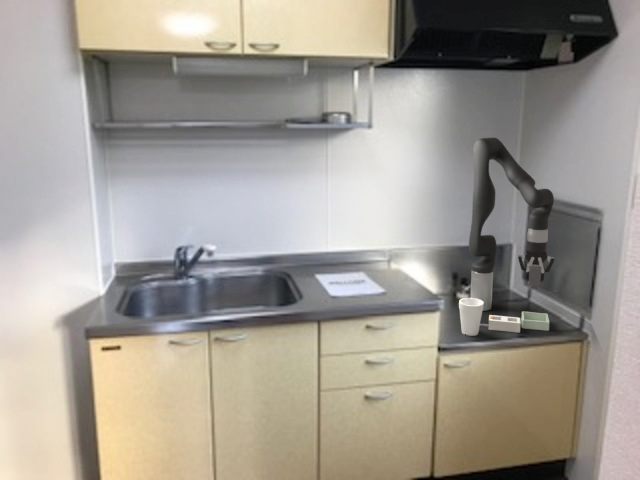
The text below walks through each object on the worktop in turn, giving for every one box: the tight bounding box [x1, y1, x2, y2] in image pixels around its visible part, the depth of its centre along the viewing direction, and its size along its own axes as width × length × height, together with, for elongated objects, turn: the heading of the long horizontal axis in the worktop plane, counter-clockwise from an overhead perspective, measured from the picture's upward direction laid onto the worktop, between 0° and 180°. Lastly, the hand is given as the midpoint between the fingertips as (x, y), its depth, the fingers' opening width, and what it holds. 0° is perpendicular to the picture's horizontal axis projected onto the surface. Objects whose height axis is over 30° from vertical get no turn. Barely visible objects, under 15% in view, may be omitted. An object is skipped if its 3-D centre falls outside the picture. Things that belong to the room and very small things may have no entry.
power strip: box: [479, 314, 522, 334], centre depth 218 cm, size 6×18×4 cm, turn 72°
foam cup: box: [458, 297, 484, 337], centre depth 213 cm, size 10×9×13 cm
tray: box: [520, 311, 550, 332], centre depth 220 cm, size 10×10×4 cm
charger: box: [527, 264, 541, 290], centre depth 214 cm, size 6×4×9 cm
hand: (534, 280), depth 215 cm, fingers closed on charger, 4 cm apart
